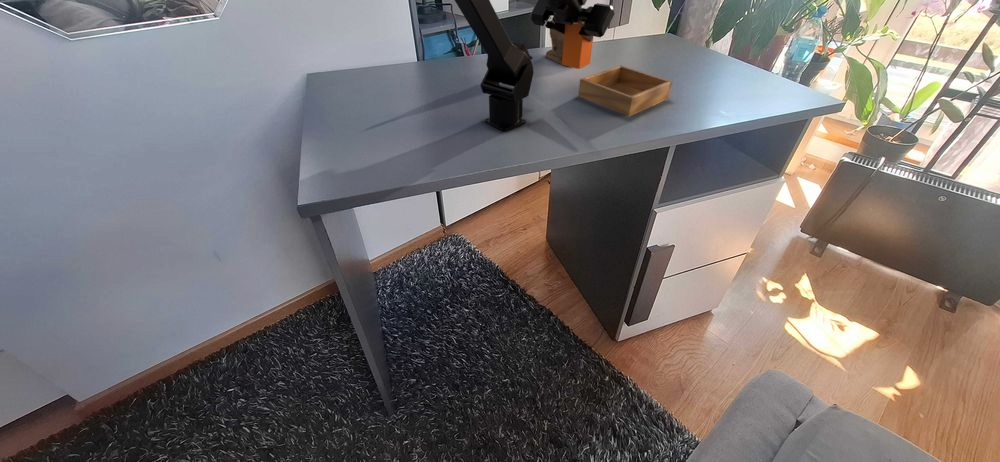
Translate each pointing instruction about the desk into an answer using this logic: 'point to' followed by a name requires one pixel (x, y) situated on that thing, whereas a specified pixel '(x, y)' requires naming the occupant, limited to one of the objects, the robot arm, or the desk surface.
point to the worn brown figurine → (556, 47)
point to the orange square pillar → (576, 47)
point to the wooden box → (624, 90)
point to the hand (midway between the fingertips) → (581, 38)
